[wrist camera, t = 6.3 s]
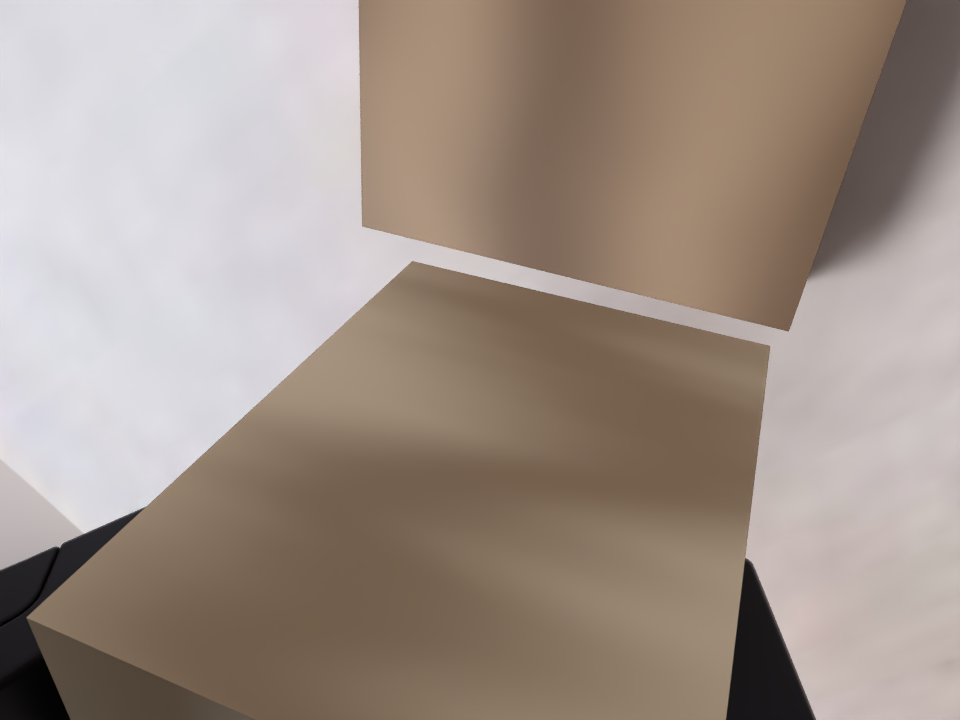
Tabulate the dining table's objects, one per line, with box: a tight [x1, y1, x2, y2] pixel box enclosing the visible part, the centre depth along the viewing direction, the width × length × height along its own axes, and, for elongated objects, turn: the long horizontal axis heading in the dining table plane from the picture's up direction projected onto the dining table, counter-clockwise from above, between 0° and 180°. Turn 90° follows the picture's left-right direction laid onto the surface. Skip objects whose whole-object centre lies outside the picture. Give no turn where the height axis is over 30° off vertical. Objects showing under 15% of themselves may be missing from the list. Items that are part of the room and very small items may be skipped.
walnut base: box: [359, 0, 907, 331], centre depth 16 cm, size 11×11×2 cm
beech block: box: [26, 261, 770, 720], centre depth 8 cm, size 4×4×6 cm
